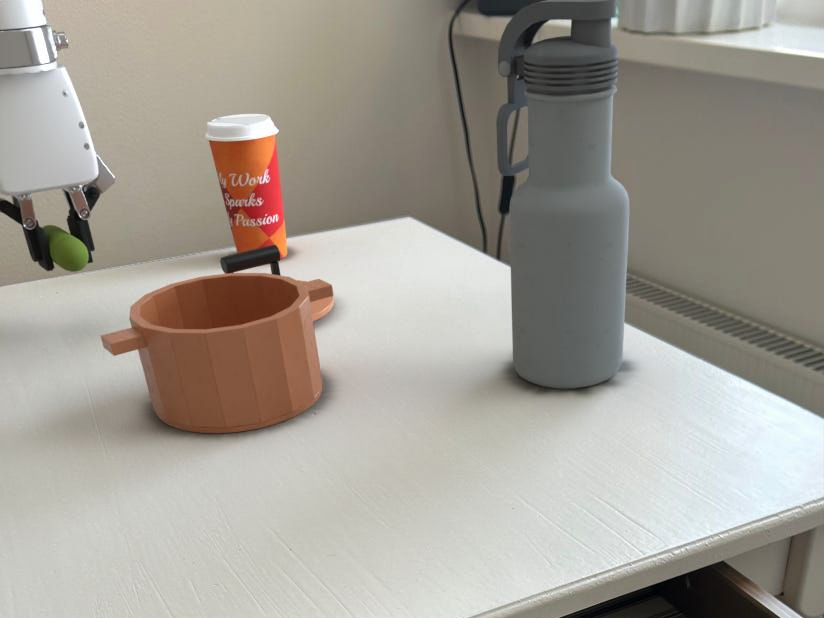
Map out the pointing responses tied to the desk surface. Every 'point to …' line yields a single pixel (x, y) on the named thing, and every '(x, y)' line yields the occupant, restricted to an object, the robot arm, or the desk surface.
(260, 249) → the lid
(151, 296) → the pot
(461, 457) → the desk surface
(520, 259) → the water bottle
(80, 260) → the pickle
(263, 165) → the coffee cup
